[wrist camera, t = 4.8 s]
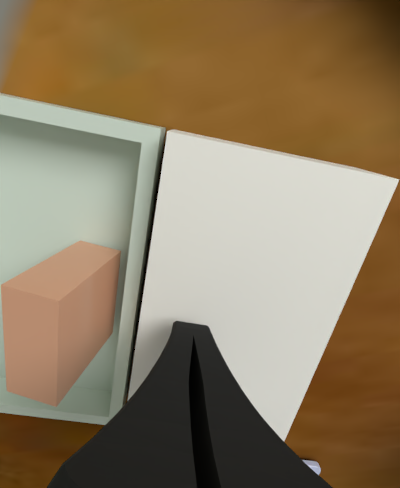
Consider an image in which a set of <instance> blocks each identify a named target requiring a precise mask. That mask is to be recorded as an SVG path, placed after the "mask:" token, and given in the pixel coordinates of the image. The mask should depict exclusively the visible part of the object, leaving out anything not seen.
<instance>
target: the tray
mask: <svg viewBox="0 0 400 488" xmlns="http://www.w3.org/2000/svg"><path fill="white" fill-rule="evenodd" d="M165 131H166V128H165V127H160V126H155V125H150V124H145V123H141V122H136V121H131V120H126V119H122V118H117V117H112V116H107V115H103V114H98V113H93V112H88V111H84V110H79V109H74V108H69V107H64V106H60V105H55V104H50V103H45V102H41V101H36V100H31V99H26V98H22V97H17V96H12V95H7V94H3V93H0V413H8V414H16V415H25V416H33V417H42V418H50V419H59V420H67V421H76V422H84V423H93V424H101V425H106V424H107V423H108V422H109V421H110V420H111V419H112V418H113V417H114V416H115V415H116V414H117V413H118V412H119V410H120V409H121V408H122V407H123V406H124V405H125V402H126V398H127V392H128V386H129V379H130V372H131V365H132V358H133V351H134V344H135V338H136V331H137V324H138V317H139V310H140V303H141V296H142V289H143V283H144V276H145V269H146V262H147V255H148V248H149V241H150V234H151V228H152V221H153V214H154V207H155V200H156V193H157V186H158V180H159V173H160V166H161V159H162V152H163V145H164V138H165ZM78 241H84V242H88V243H92V244H96V245H100V246H104V247H108V248H112V249H116V250H120V251H121V257H120V267H119V277H118V287H117V296H116V306H115V316H114V326H113V333H112V334H111V336H110V337H109V338H108V340H107V341H106V342H105V344H104V345H103V346H102V348H101V349H100V350H99V352H98V353H97V354H96V356H95V357H94V358H93V360H92V361H91V362H90V363H89V365H88V366H87V367H86V369H85V370H84V371H83V373H82V374H81V375H80V377H79V378H78V379H77V381H76V382H75V383H74V385H73V386H72V387H71V389H70V390H69V391H68V393H67V394H66V395H65V397H64V398H63V399H62V400H61V402H60V403H59V404H58V406H57V407H54V406H51V405H48V404H45V403H42V402H39V401H36V400H33V399H30V398H27V397H23V396H20V395H17V394H14V393H11V392H8V391H7V388H6V370H5V352H4V335H3V317H2V299H1V284H3V283H5V282H7V281H8V280H10V279H12V278H14V277H16V276H17V275H19V274H21V273H23V272H24V271H26V270H28V269H30V268H32V267H33V266H35V265H37V264H39V263H40V262H42V261H44V260H46V259H48V258H49V257H51V256H53V255H55V254H56V253H58V252H60V251H62V250H64V249H65V248H67V247H69V246H71V245H72V244H74V243H76V242H78Z"/></svg>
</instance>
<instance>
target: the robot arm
mask: <svg viewBox="0 0 400 488" xmlns="http://www.w3.org/2000/svg"><path fill="white" fill-rule="evenodd" d="M320 472H321V469H320V466H319V463H317V462H315V461H309V460H301V459H300V458H299V457H298V456H297V455H296V454H295V453H294V452H293V451H292V450H291V449H290V448H289V447H288V446H287V445H286V444H285V442H284V441H283V440H282V439H281V438H280V437H279V436H278V435H277V434H276V432H275V431H274V430H273V429H272V428H271V427H270V426H269V425H268V423H267V422H266V421H265V420H264V419H263V418H262V416H261V415H260V414H259V413H258V411H257V410H256V409H255V407H254V406H253V405H252V403H251V402H250V400H249V399H248V398H247V396H246V395H245V393H244V392H243V390H242V389H241V387H240V386H239V384H238V382H237V381H236V379H235V378H234V376H233V374H232V373H231V371H230V369H229V367H228V366H227V364H226V362H225V360H224V358H223V356H222V354H221V352H220V350H219V348H218V346H217V344H216V342H215V340H214V338H213V335H212V333H211V331H210V328H209V327H208V326H207V325H201V324H194V323H188V322H182V321H175V322H174V323H173V327H172V331H171V334H170V337H169V339H168V341H167V343H166V345H165V347H164V349H163V351H162V353H161V355H160V357H159V358H158V360H157V362H156V363H155V365H154V366H153V368H152V369H151V371H150V373H149V374H148V376H147V377H146V378H145V380H144V381H143V383H142V384H141V385H140V387H139V388H138V389H137V390H136V392H135V393H134V394H133V395H132V397H131V398H130V399H129V400H128V401H127V402H126V404H125V405H124V406H123V407H122V408H121V409H120V410H119V412H118V413H117V414H116V415H115V416H114V417H113V418H112V419H111V420H110V421H109V422H108V423H107V424H106V425H105V426H104V427H103V428H102V429H101V430H100V431H99V432H98V433H97V434H96V435H95V436H94V437H93V438H92V439H91V440H90V441H88V442H87V443H86V444H85V445H84V446H83V447H81V448H80V449H79V450H78V451H77V452H76V453H75V454H73V455H72V456H71V457H70V458H69V459H68V460H66V461H65V462H64V463H63V464H62V466H61V467H60V469H59V470H58V471H57V473H56V474H55V476H54V477H53V479H52V480H51V482H50V483H49V485H48V487H47V488H332V487H331V486H330V485H329V484H328V483H327V482H326V481H325V480H323V479H322V478H321V477H320V476H319V474H320Z"/></svg>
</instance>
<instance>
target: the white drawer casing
mask: <svg viewBox="0 0 400 488" xmlns="http://www.w3.org/2000/svg"><path fill="white" fill-rule="evenodd" d="M398 182H399V179H395V178H392V177H388V176H384V175H381V174H377V173H373V172H370V171H366V170H362V169H359V168H355V167H350V166H346V165H341V164H336V163H331V162H327V161H322V160H317V159H312V158H307V157H303V156H298V155H293V154H288V153H284V152H279V151H274V150H269V149H265V148H260V147H255V146H250V145H246V144H241V143H236V142H231V141H226V140H222V139H217V138H212V137H207V136H203V135H198V134H193V133H188V132H184V131H179V130H174V129H173V130H169V131H167V136H166V143H165V150H164V157H163V163H162V170H161V177H160V184H159V190H158V197H157V204H156V211H155V218H154V224H153V231H152V238H151V245H150V251H149V258H148V265H147V272H146V279H145V285H144V292H143V299H142V306H141V312H140V319H139V326H138V333H137V340H136V346H135V353H134V360H133V367H132V373H131V380H130V387H129V394H128V400H129V399H130V398H131V397H132V395H133V394H134V393H135V392H136V390H137V389H138V388H139V387H140V385H141V384H142V383H143V381H144V380H145V378H146V377H147V376H148V374H149V373H150V371H151V369H152V368H153V366H154V365H155V363H156V362H157V360H158V358H159V357H160V355H161V353H162V351H163V349H164V347H165V345H166V343H167V341H168V339H169V337H170V334H171V331H172V327H173V323H174V322H175V321H182V322H188V323H194V324H201V325H207V326H208V327H209V328H210V331H211V333H212V335H213V338H214V340H215V342H216V344H217V346H218V348H219V350H220V352H221V354H222V356H223V358H224V360H225V362H226V364H227V366H228V367H229V369H230V371H231V373H232V374H233V376H234V378H235V379H236V381H237V382H238V384H239V386H240V387H241V389H242V390H243V392H244V393H245V395H246V396H247V398H248V399H249V400H250V402H251V403H252V405H253V406H254V407H255V409H256V410H257V411H258V413H259V414H260V415H261V416H262V418H263V419H264V420H265V421H266V422H267V423H268V425H269V426H270V427H271V428H272V429H273V430H274V431H275V432H276V434H277V435H278V436H279V437H280V438H281V439H282V440H283V441H285V438H286V436H287V434H288V432H289V429H290V427H291V425H292V423H293V420H294V418H295V416H296V413H297V411H298V409H299V407H300V404H301V402H302V400H303V398H304V395H305V393H306V391H307V388H308V386H309V384H310V382H311V379H312V377H313V375H314V373H315V370H316V368H317V366H318V363H319V361H320V359H321V357H322V354H323V352H324V350H325V347H326V345H327V343H328V341H329V338H330V336H331V334H332V332H333V329H334V327H335V325H336V322H337V320H338V318H339V316H340V313H341V311H342V309H343V307H344V304H345V302H346V300H347V297H348V295H349V293H350V291H351V288H352V286H353V284H354V282H355V279H356V277H357V275H358V272H359V270H360V268H361V266H362V263H363V261H364V259H365V257H366V254H367V252H368V250H369V247H370V245H371V243H372V241H373V238H374V236H375V234H376V232H377V229H378V227H379V225H380V222H381V220H382V218H383V216H384V213H385V211H386V209H387V207H388V204H389V202H390V200H391V197H392V195H393V193H394V191H395V188H396V186H397V184H398Z"/></svg>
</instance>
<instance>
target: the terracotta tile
mask: <svg viewBox="0 0 400 488" xmlns="http://www.w3.org/2000/svg"><path fill="white" fill-rule="evenodd" d="M120 257H121V251H120V250H116V249H112V248H108V247H104V246H100V245H96V244H92V243H88V242H84V241H78V242H76V243H74V244H72V245H71V246H69V247H67V248H65V249H64V250H62V251H60V252H58V253H56V254H55V255H53V256H51V257H49V258H48V259H46V260H44V261H42V262H40V263H39V264H37V265H35V266H33V267H32V268H30V269H28V270H26V271H24V272H23V273H21V274H19V275H17V276H16V277H14V278H12V279H10V280H8V281H7V282H5V283H3V284H1V299H2V317H3V335H4V352H5V370H6V388H7V391H8V392H11V393H14V394H17V395H20V396H23V397H27V398H30V399H33V400H36V401H39V402H42V403H45V404H48V405H51V406H54V407H57V406H58V404H59V403H60V402H61V400H62V399H63V398H64V397H65V395H66V394H67V393H68V391H69V390H70V389H71V387H72V386H73V385H74V383H75V382H76V381H77V379H78V378H79V377H80V375H81V374H82V373H83V371H84V370H85V369H86V367H87V366H88V365H89V363H90V362H91V361H92V360H93V358H94V357H95V356H96V354H97V353H98V352H99V350H100V349H101V348H102V346H103V345H104V344H105V342H106V341H107V340H108V338H109V337H110V336H111V334H112V333H113V326H114V316H115V306H116V296H117V287H118V277H119V267H120Z"/></svg>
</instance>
